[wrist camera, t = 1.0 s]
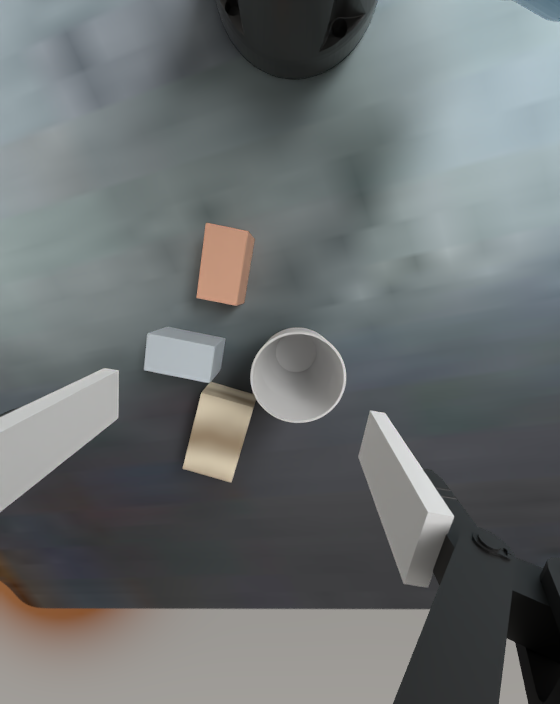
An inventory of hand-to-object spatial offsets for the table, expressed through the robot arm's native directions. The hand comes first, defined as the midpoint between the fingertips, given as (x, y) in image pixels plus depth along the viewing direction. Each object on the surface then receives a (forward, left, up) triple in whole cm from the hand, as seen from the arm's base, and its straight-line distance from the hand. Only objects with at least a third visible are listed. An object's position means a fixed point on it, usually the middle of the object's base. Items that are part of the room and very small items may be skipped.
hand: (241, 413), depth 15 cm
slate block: (+3, -9, -20) cm, 22 cm away
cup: (+1, +3, -20) cm, 20 cm away
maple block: (+12, -4, -20) cm, 23 cm away
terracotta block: (-7, -6, -20) cm, 22 cm away
